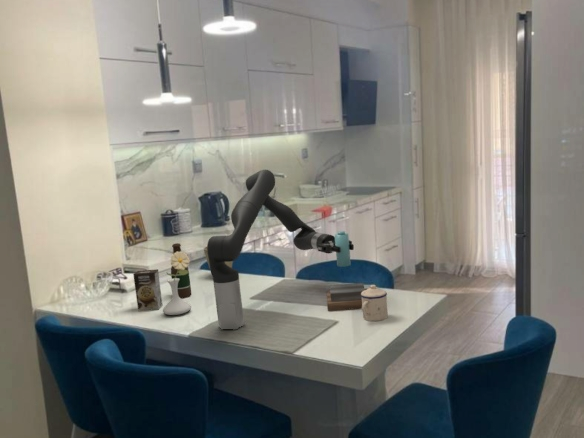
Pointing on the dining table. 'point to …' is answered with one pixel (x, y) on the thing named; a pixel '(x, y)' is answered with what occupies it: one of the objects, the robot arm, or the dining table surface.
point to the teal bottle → (342, 249)
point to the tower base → (343, 304)
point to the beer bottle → (181, 277)
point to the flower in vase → (176, 302)
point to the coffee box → (148, 290)
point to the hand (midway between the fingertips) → (346, 248)
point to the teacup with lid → (374, 304)
